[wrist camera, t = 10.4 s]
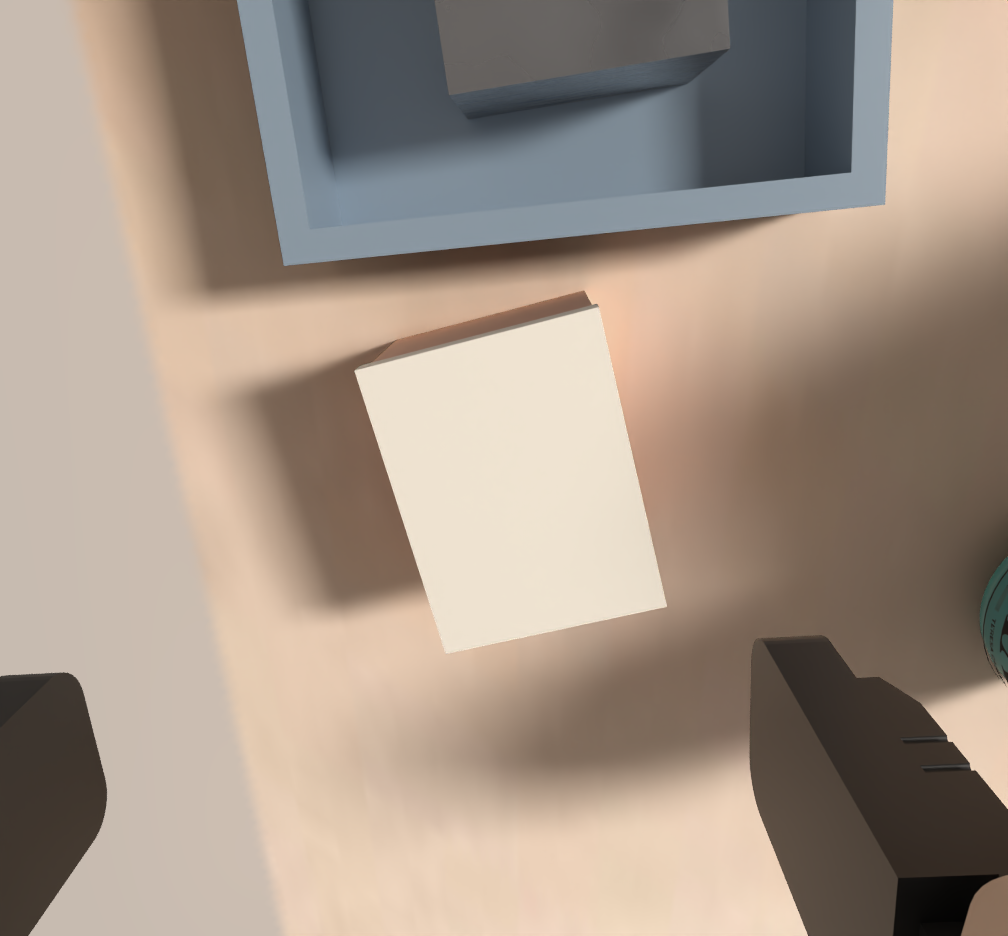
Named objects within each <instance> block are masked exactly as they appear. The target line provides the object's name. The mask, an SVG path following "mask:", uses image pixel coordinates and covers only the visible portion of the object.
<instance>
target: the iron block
mask: <svg viewBox="0 0 1008 936" xmlns="http://www.w3.org/2000/svg"><path fill="white" fill-rule="evenodd" d="M434 1H435V7H436V14H437V20H438V27H439V34H440V40H441V47H442V53H443V60H444V66H445V73H446V80H447V86H448V93H449V96H450V97H451V99H452V100H453V101H454V102H455V104H456V105H457V106H458V107H459V109H460V110H461V111H462V112H463V114H464V115H465V116H466V118H467V119H468V120H469V119H475V118H481V117H487V116H493V115H499V114H505V113H511V112H518V111H524V110H530V109H536V108H542V107H548V106H554V105H560V104H567V103H573V102H579V101H585V100H591V99H597V98H603V97H609V96H616V95H622V94H628V93H634V92H640V91H646V90H652V89H658V88H665V87H671V86H677V85H683V84H688V83H690V82H691V81H692V80H693V79H694V78H696V77H697V76H698V75H699V74H700V73H702V72H703V71H704V70H705V69H706V68H708V67H709V66H710V65H711V64H712V63H714V62H715V61H716V60H717V59H718V58H720V57H721V56H722V55H723V54H724V53H726V52H727V51H728V50H729V49H730V33H729V15H728V0H434Z"/></svg>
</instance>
